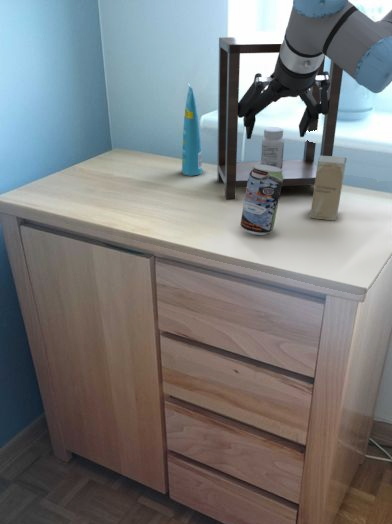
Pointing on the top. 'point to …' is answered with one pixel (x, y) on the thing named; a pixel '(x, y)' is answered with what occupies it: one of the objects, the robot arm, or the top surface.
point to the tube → (191, 138)
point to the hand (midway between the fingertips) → (274, 132)
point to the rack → (228, 99)
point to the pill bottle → (272, 147)
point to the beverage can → (261, 199)
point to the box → (328, 187)
